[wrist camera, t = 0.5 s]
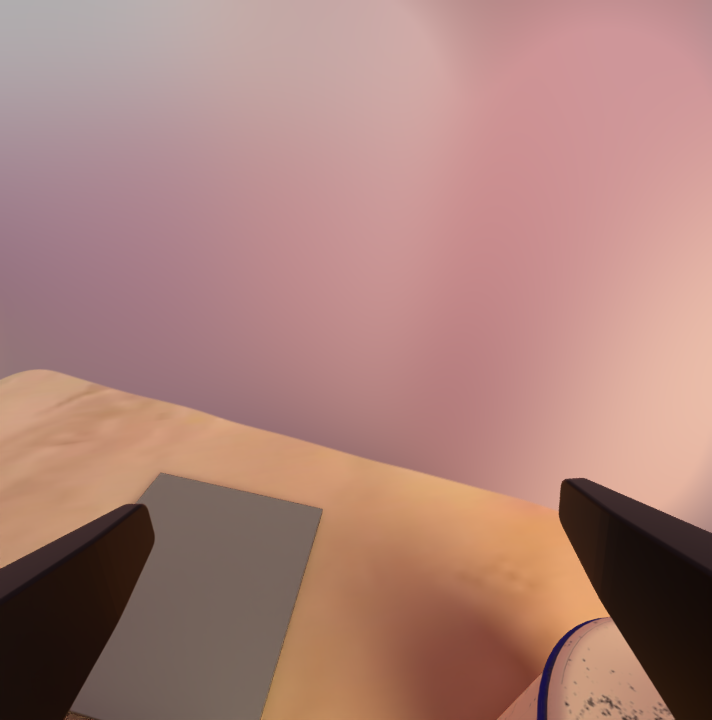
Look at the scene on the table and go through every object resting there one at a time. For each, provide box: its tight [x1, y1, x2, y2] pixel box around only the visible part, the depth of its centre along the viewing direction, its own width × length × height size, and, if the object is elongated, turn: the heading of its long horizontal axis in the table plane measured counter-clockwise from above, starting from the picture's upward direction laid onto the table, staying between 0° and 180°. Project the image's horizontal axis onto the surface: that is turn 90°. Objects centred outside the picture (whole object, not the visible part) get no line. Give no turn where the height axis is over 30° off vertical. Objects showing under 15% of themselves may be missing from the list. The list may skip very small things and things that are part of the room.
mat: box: [69, 473, 322, 720], centre depth 20 cm, size 12×12×1 cm
